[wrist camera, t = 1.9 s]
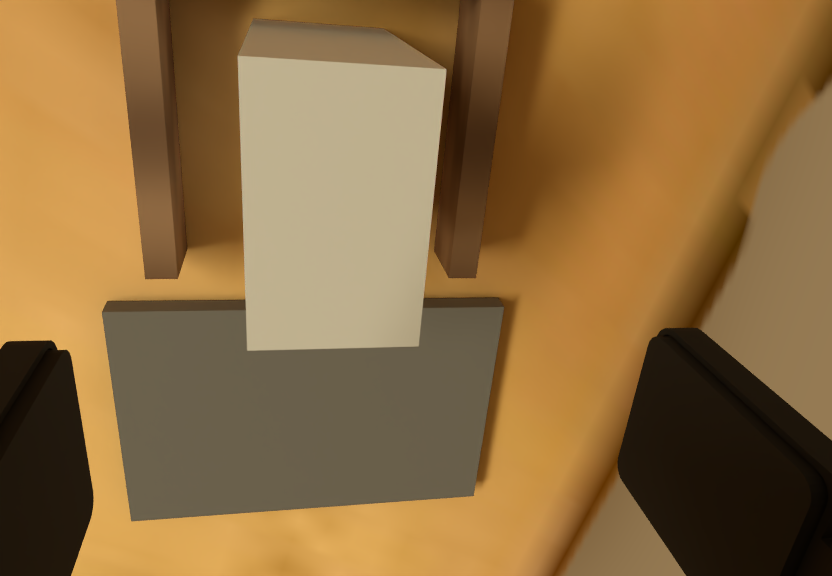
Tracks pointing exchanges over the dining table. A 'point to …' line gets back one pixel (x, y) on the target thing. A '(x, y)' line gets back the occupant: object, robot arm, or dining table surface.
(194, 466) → the mat
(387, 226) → the blank block
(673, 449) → the robot arm
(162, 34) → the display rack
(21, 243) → the dining table surface
